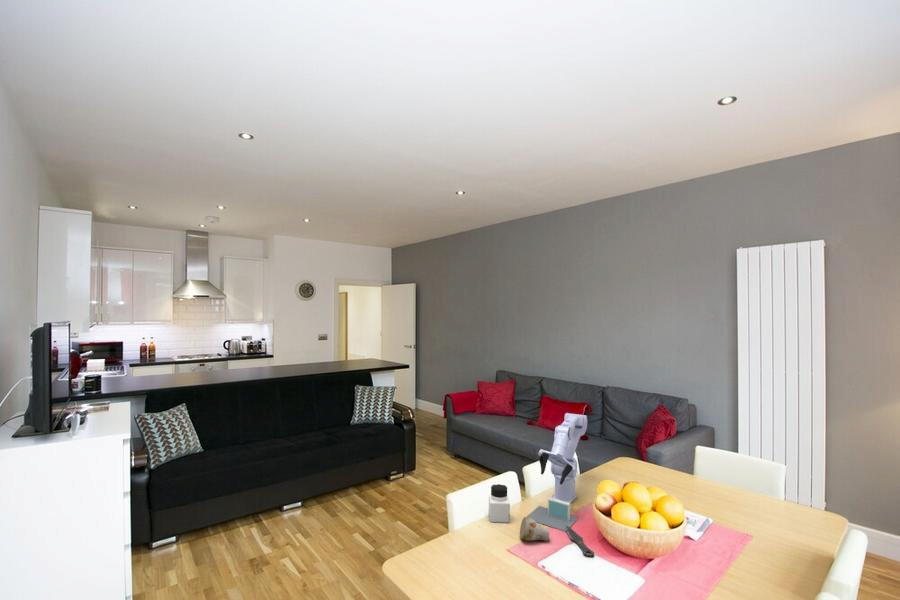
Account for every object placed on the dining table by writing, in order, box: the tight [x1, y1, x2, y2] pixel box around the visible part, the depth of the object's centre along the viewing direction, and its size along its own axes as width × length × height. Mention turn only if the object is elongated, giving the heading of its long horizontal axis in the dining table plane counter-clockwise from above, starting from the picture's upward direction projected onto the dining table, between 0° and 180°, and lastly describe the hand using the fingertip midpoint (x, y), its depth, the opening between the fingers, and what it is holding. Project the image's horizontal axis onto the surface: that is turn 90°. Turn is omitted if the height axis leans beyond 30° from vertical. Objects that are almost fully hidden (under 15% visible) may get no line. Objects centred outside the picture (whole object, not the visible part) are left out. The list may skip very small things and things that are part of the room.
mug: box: [519, 516, 550, 542], centre depth 143 cm, size 8×10×10 cm
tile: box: [547, 497, 571, 521], centre depth 158 cm, size 2×8×6 cm, turn 54°
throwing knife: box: [565, 525, 595, 558], centre depth 142 cm, size 4×20×1 cm, turn 8°
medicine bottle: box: [488, 483, 511, 524], centre depth 158 cm, size 7×7×12 cm
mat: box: [526, 505, 579, 533], centre depth 158 cm, size 13×16×1 cm
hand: (551, 478), depth 159 cm, fingers open, 7 cm apart
